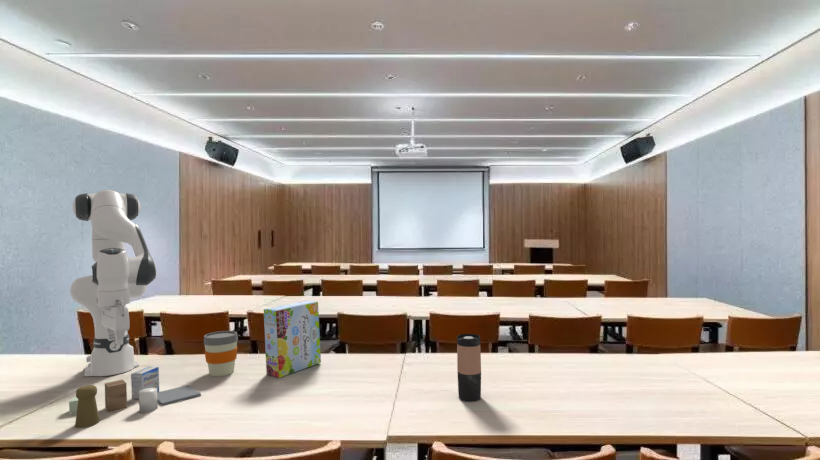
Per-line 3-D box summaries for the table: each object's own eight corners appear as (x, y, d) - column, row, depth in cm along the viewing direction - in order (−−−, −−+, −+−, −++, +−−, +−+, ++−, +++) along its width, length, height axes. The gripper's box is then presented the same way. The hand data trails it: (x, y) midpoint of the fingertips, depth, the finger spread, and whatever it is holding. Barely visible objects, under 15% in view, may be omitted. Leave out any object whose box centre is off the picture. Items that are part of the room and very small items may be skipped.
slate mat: (151, 396, 159) (151, 393, 159) (188, 387, 168) (188, 384, 167) (162, 405, 151) (162, 403, 151) (200, 395, 159) (200, 393, 159)
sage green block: (72, 409, 149) (72, 397, 149) (95, 406, 151) (94, 394, 151) (69, 414, 145) (69, 401, 145) (92, 411, 148) (92, 398, 148)
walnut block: (105, 408, 150) (104, 383, 149) (123, 403, 153) (122, 379, 153) (108, 412, 146) (108, 386, 146) (127, 407, 149) (126, 382, 149)
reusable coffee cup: (205, 379, 175) (204, 339, 175) (203, 370, 186) (202, 333, 186) (240, 374, 181) (239, 335, 181) (236, 365, 192) (235, 329, 192)
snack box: (307, 360, 198) (305, 299, 197) (321, 363, 193) (320, 301, 192) (264, 374, 180) (262, 307, 180) (278, 378, 175) (277, 309, 175)
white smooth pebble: (137, 409, 148) (136, 390, 148) (154, 405, 151) (154, 386, 151) (141, 413, 144) (141, 394, 144) (159, 409, 148) (159, 390, 148)
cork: (82, 419, 141) (81, 383, 141) (104, 418, 141) (103, 382, 141) (70, 428, 135) (68, 390, 134) (92, 427, 135) (91, 389, 135)
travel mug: (483, 394, 155) (482, 334, 154) (479, 403, 147) (478, 339, 147) (460, 392, 157) (459, 332, 157) (455, 400, 150) (454, 338, 150)
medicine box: (142, 399, 156) (142, 373, 156) (131, 398, 157) (130, 373, 157) (159, 391, 164) (159, 366, 164) (148, 390, 165) (148, 366, 165)
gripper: (134, 300, 144) (136, 345, 144) (117, 295, 159) (118, 336, 159) (110, 303, 140) (112, 349, 140) (95, 298, 154) (96, 340, 154)
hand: (115, 342), depth 149 cm, fingers open, 8 cm apart
